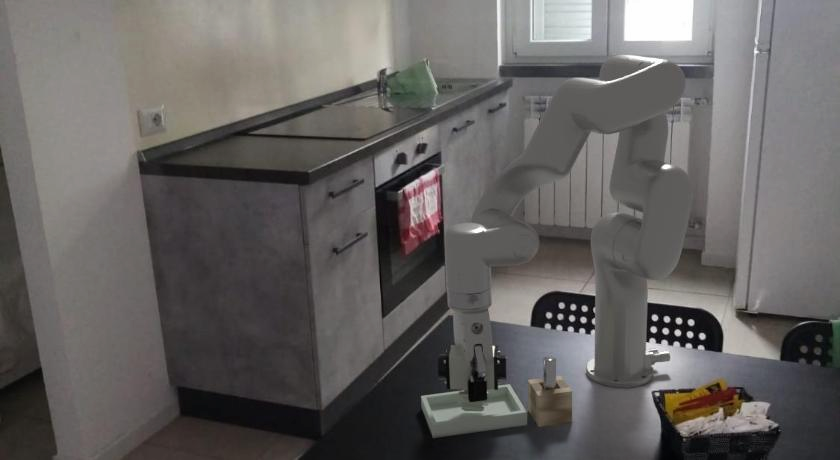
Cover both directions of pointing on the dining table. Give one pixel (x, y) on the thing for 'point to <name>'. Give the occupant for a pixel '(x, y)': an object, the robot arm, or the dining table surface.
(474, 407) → the pneumatic valve
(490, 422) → the tray
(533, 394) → the bore block
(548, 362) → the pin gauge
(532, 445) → the dining table surface
